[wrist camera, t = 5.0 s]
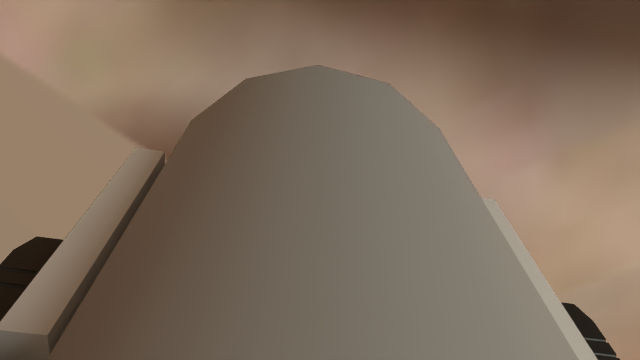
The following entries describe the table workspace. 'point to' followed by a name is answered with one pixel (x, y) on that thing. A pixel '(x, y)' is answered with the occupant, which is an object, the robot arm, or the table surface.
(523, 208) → the table surface
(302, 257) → the cup
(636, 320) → the table surface
